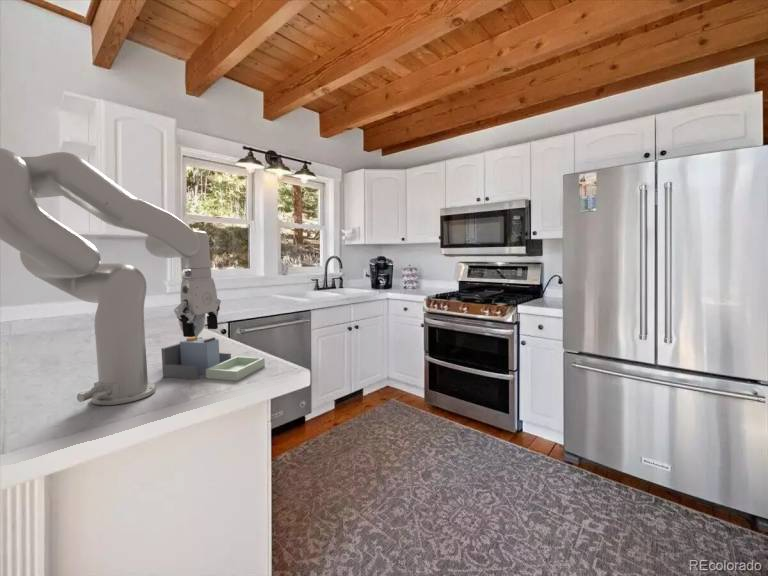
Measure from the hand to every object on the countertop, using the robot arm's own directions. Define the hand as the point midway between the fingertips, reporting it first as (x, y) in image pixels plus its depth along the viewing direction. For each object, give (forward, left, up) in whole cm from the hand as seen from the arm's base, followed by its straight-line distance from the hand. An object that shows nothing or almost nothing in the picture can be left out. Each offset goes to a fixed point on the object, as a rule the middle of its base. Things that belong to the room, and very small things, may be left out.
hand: (201, 332), depth 107 cm
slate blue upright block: (-1, 0, -11) cm, 11 cm away
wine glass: (+11, +13, -11) cm, 20 cm away
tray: (0, -11, -11) cm, 16 cm away
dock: (-1, 0, -11) cm, 11 cm away
